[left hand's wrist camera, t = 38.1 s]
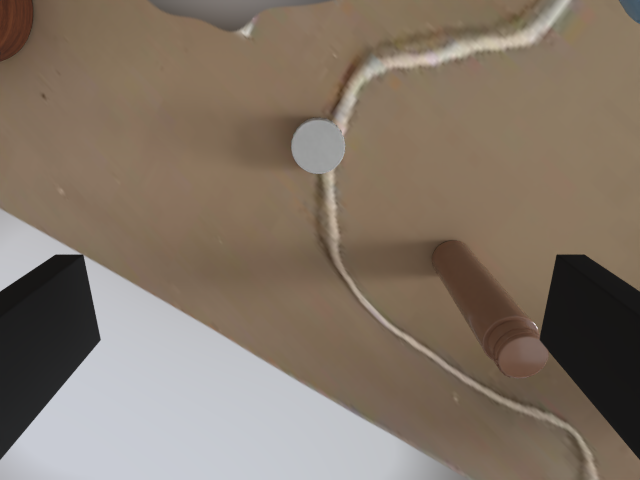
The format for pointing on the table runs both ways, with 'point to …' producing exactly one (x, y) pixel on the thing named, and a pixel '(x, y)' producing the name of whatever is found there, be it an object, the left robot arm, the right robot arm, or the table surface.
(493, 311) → the jar
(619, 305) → the left robot arm
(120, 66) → the table surface
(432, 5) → the table surface
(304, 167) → the lid
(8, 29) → the brown wooden figurine
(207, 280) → the table surface
